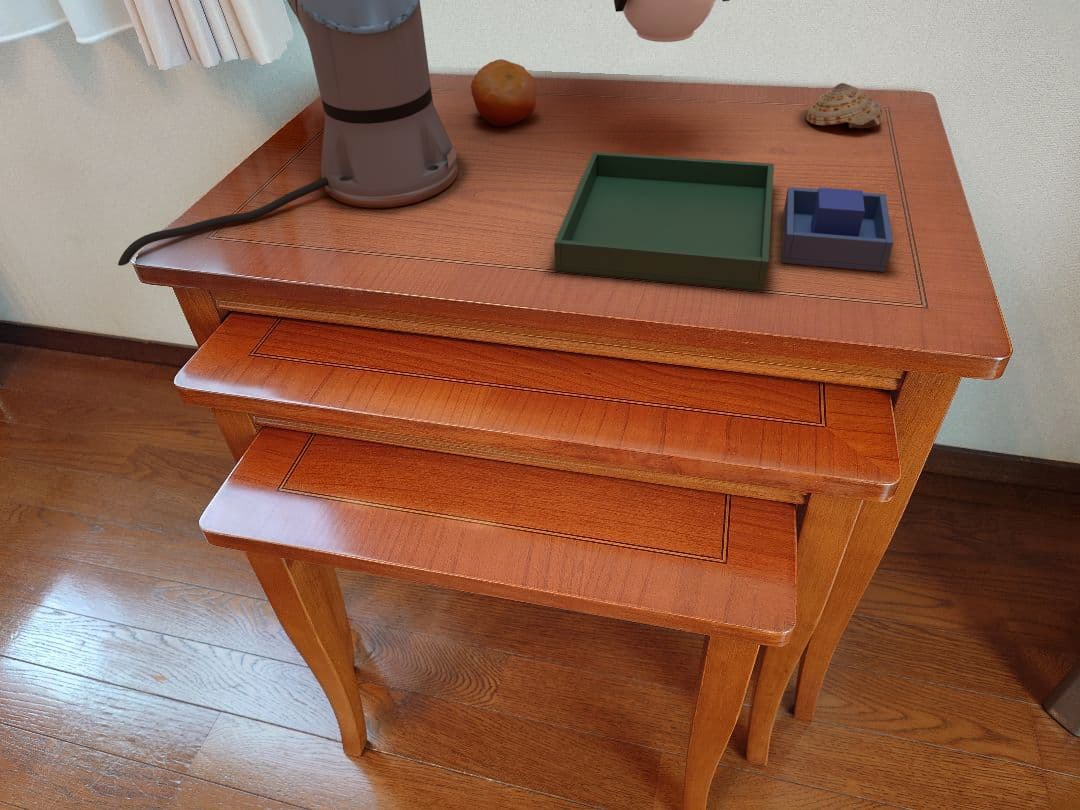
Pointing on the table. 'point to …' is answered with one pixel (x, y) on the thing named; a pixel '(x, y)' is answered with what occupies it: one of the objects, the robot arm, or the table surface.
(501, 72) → the fruit
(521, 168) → the table surface
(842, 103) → the seashell
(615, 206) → the green tray
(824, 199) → the blue block
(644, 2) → the trinket box
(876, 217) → the blue tray
